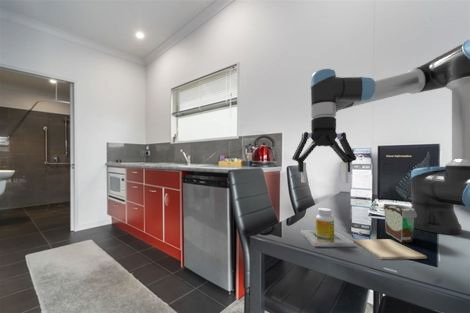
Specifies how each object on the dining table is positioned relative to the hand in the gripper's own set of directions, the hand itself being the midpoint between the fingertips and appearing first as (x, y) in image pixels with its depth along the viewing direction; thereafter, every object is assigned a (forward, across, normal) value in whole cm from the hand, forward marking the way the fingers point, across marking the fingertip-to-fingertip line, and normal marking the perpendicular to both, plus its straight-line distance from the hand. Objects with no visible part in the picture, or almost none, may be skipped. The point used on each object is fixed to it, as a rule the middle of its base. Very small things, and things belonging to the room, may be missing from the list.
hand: (324, 182), depth 67 cm
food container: (+18, -27, -1) cm, 33 cm away
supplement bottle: (+19, 0, 0) cm, 19 cm away
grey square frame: (+18, 0, 0) cm, 18 cm away
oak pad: (+18, -14, +8) cm, 24 cm away
